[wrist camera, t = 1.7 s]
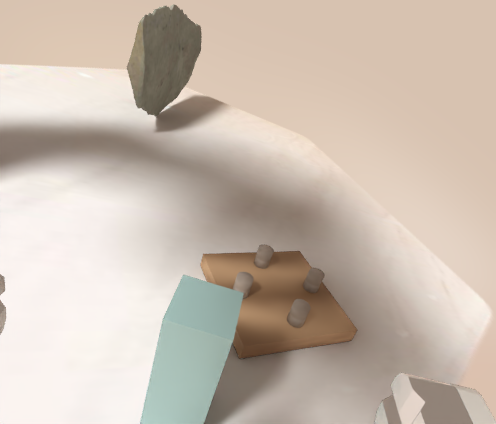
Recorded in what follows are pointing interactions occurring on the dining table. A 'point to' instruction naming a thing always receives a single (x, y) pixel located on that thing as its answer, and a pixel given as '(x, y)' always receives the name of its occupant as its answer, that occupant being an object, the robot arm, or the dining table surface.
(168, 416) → the block
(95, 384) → the dining table surface
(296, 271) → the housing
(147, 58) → the rock
